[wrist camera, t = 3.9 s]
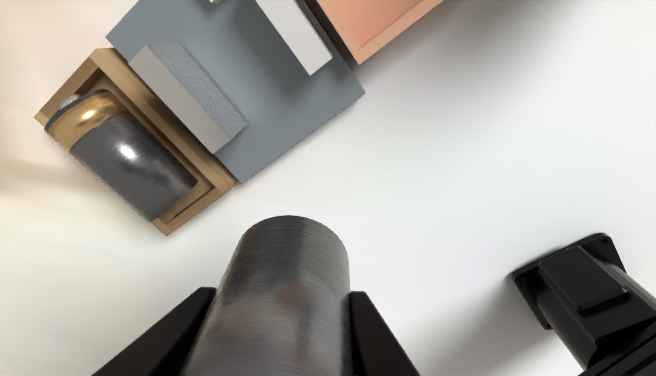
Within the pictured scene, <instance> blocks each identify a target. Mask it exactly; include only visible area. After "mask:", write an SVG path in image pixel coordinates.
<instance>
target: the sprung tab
mask: <svg viewBox="0 0 656 376" xmlns="http://www.w3.org/2000/svg"><path fill="white" fill-rule="evenodd" d="M128 64H129V65H130V66H131V68H132V69H133V70H134V71H135V72H136V73H137V74H138V75H139V76H140V77H141V78H142V79H143V80H144V81H145V83H146V84H147V85H148V86H149V87H150V88H151V89H152V90H153V91H154V92H155V93H156V94H157V95H158V96H159V98H160V99H161V100H162V101H163V102H164V103H165V104H166V105H167V106H168V107H169V108H170V109H171V110H172V111H173V113H174V114H175V115H176V116H177V117H178V118H179V119H180V120H181V121H182V122H183V123H184V124H185V125H186V126H187V128H188V129H189V130H190V131H191V132H192V133H193V134H194V135H195V136H196V137H197V138H198V139H199V140H200V141H201V143H202V144H203V145H204V146H205V147H206V148H207V149H208V150H209V151H210V152H211V153H212V154H214V153H215V152H216V151H217V150H219V149H220V148H221V147H222V146H224V145H225V144H226V143H227V142H229V141H230V140H231V139H232V138H233V137H234V136H235V135H236V134H237V133H238V132H240V131H241V130H242V129H243V128H244V127H245V126H246V125H247V122H246V121H245V120H244V119H243V118H242V117H241V115H240V114H239V113H238V112H237V111H236V109H235V108H234V107H233V106H232V105H231V104H230V102H229V101H228V100H227V99H226V98H225V97H224V95H223V94H222V93H221V92H220V91H219V89H218V88H217V87H216V86H215V85H214V84H213V82H212V81H211V80H210V79H209V78H208V77H207V75H206V74H205V73H204V72H203V71H202V69H201V68H200V67H199V66H198V65H197V64H196V62H195V61H194V60H193V59H192V58H191V57H190V55H189V54H188V53H187V52H186V51H185V50H184V48H183V47H182V46H181V45H180V44H179V43H177V44H153V45H145V46H144V47H143V48H142V49H141V50H140V51H139V52H138V53H137V54H136V55H135V56H134V57H133V58H132V59H131V61H130V62H129V63H128Z"/></svg>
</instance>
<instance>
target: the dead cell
mask: <svg viewBox="0 0 656 376" xmlns="http://www.w3.org/2000/svg"><path fill="white" fill-rule="evenodd" d="M178 376H356V371H355V356H354V347H353V337H352V322H351V306H350V277H349V261H348V255H347V251H346V249H345V247H344V245H343V243H342V241H341V240H340V239H339V237H338V236H337V235H336V234H335V233H334V232H333V231H332V230H330V229H329V228H328V227H326V226H325V225H323V224H321V223H319V222H317V221H315V220H312V219H309V218H306V217H300V216H291V215H286V216H276V217H272V218H268V219H265V220H263V221H260V222H258V223H257V224H255V225H253V226H252V227H251V228H249V229H248V230H247V231H246V232H245V233H244V234H243V236H242V237H241V239H240V240H239V243H238V245H237V247H236V249H235V251H234V253H233V256H232V258H231V260H230V262H229V264H228V267H227V269H226V271H225V273H224V275H223V278H222V280H221V282H220V284H219V286H218V289H217V291H216V293H215V295H214V297H213V300H212V302H211V304H210V306H209V308H208V310H207V313H206V315H205V317H204V319H203V321H202V324H201V326H200V328H199V330H198V332H197V335H196V337H195V339H194V341H193V343H192V346H191V348H190V350H189V352H188V354H187V357H186V359H185V361H184V363H183V365H182V368H181V370H180V372H179V374H178Z"/></svg>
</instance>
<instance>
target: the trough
mask: <svg viewBox="0 0 656 376" xmlns="http://www.w3.org/2000/svg"><path fill="white" fill-rule="evenodd" d="M128 63H129V62H128V61H127V60H126V59H125V58H124V57H123V56H122V55H121V54H120V53H119V51H118V50H117V49H116V48H102V49H95V50H94V51H93V53H92V54H91V55H90V56H89V57H88V58H87V59H86V60H85V61H84V62H83V64H82V65H81V66H80V67H79V68H78V69H77V70H76V71H75V72H74V73H73V75H72V76H71V77H70V78H69V79H68V80H67V81H66V82H65V83H64V84H63V86H62V87H61V88H60V89H59V90H58V91H57V92H56V93H55V94H54V95H53V96H52V98H51V99H50V100H49V101H48V102H47V103H46V104H45V105H44V106H43V107H42V109H41V110H40V111H39V112H38V113H37V114H36V115H35V116H34V118H35V119H36V120H37V121H38V122H39V123H40V124H42V125H43V126H44V127H45V125H46V124H47V122H48V121H49V120H50V119H51V118H52V117H53V116H54V115H55V114H56V113H57V112H58V111H60V109H58V105H59V104H60V103H61V102H62V101H63V100H64V99H66V98H67V97H69V96H71V95H74V94H80V95H81V96H83V95H86V94H88V93H90V92H93V91H96V90H99V89H108V90H109V91H110V92H112V93H113V94H114V95H115V96H116V97H117V98H118V99H119V100H120V101H121V102H122V103H123V104H124V105H125V106H126V107H127V108H128V110H129V111H130V112H131V113H132V114H133V115H134V116H135V117H136V118H137V119H138V120H139V121H140V122H141V123H142V124H143V125H144V126H145V127H146V128H147V129H148V130H149V131H150V132H151V133H152V134H153V135H154V136H155V137H156V138H157V139H158V140H159V141H160V142H161V143H162V144H163V145H164V146H165V147H166V148H167V149H168V150H169V151H170V152H171V153H172V154H173V155H174V156H175V157H176V158H177V159H178V160H179V161H180V162H181V163H182V164H183V165H184V166H185V167H186V168H187V170H188V171H189V172H190V173H191V174H192V175H193V176H194V177H195V178H196V179H197V180H198V183H197V184H196V185H195V186H194V187H193V188H192V189H191V190H190V191H189V192H188V193H186V194H185V195H184V196H183V197H182V198H181V199H180V200H179V201H177V202H176V203H175V204H174V205H173V206H172V207H170V208H169V209H168V210H167V211H166V212H164V213H163V214H162V215H161V216H159V217H158V218H157V219H155V220H154V221H152V222H151V223H152V224H154V225H155V226H156V227H157V228H158V229H159V230H160V231H161V232H163V233H164V234H165V235H166V236H168V235H169V234H170V233H172V232H173V231H174V230H176V229H177V228H178V227H180V226H181V225H183V224H184V223H185V222H187V221H188V220H189V219H191V218H192V217H193V216H195V215H196V214H198V213H199V212H200V211H202V210H203V209H204V208H206V207H207V206H208V205H210V204H211V203H213V202H214V201H215V200H217V199H218V198H219V197H221V196H222V195H223V194H225V193H226V192H227V191H229V190H230V189H231V188H232V186H233V185H234V184H235V182H236V181H237V178H236V177H235V176H234V175H233V174H232V173H231V172H230V171H229V170H228V169H227V167H226V166H225V165H224V164H223V163H222V162H221V161H220V160H219V159H218V158H217V157H216V156H215V155H214V154H212V153H211V152H210V151H209V150H208V149H207V148H206V147H205V146H204V145H203V144H202V143H201V141H200V140H199V139H198V138H197V137H196V136H195V135H194V134H193V133H192V132H191V131H190V130H189V129H188V128H187V126H186V125H185V124H184V123H183V122H182V121H181V120H180V119H179V118H178V117H177V116H176V115H175V114H174V113H173V111H172V110H171V109H170V108H169V107H168V106H167V105H166V104H165V103H164V102H163V101H162V100H161V99H160V98H159V96H158V95H157V94H156V93H155V92H154V91H153V90H152V89H151V88H150V87H149V86H148V85H147V84H146V83H145V81H144V80H143V79H142V78H141V77H140V76H139V75H138V74H137V73H136V72H135V71H134V70H133V69H132V68H131V66H130V65H129V64H128Z"/></svg>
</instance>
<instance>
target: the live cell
mask: <svg viewBox="0 0 656 376" xmlns="http://www.w3.org/2000/svg"><path fill="white" fill-rule="evenodd" d="M58 109H60V111H58V112H57V113H56V114H55V115H54V116H53V117H52V118H51V119H50V120H49V121H48V122H47V124H46V125H45V128H44V130H45V132H46V133H48V135H49V136H50V137H51V138H53V139H54V140H55V141H56V142H57V143H58V144H59V145H61V146H62V147H63V148H64V149H65V150H66V151H67V152H68V153H70V154H71V155H72V156H74V157H75V158H76V159H77V160H78V161H79V162H80V163H82V164H83V165H84V166H85V167H86V168H87V169H88V170H89V171H91V172H92V173H93V174H94V175H95V176H96V177H97V178H98V179H100V180H101V181H102V182H103V183H104V184H105V185H106V186H108V187H109V188H110V189H111V190H112V191H113V192H114V193H115V194H117V195H118V196H119V197H120V198H121V199H122V200H123V201H125V202H126V203H127V204H128V205H129V206H130V207H131V208H132V209H134V210H135V211H136V212H137V213H138V214H139V215H140V216H141V217H143V218H144V219H145V220H146V221H147V222H148V223H151V222H152V221H154V220H155V219H157V218H158V217H159V216H161V215H162V214H163V213H164V212H166V211H167V210H168V209H169V208H170V207H172V206H173V205H174V204H175V203H176V202H177V201H179V200H180V199H181V198H182V197H183V196H184V195H185V194H186V193H188V192H189V191H190V190H191V189H192V188H193V187H194V186H195V185H196V184H197V183H198V180H197V179H196V178H195V177H194V176H193V175H192V174H191V173H190V172H189V171H188V170H187V168H186V167H185V166H184V165H183V164H182V163H181V162H180V161H179V160H178V159H177V158H176V157H175V156H174V155H173V154H172V153H171V152H170V151H169V150H168V149H167V148H166V147H165V146H164V145H163V144H162V143H161V142H160V141H159V140H158V139H157V138H156V137H155V136H154V135H153V134H152V133H151V132H150V131H149V130H148V129H147V128H146V127H145V126H144V125H143V124H142V123H141V122H140V121H139V120H138V119H137V118H136V117H135V116H134V115H133V114H132V113H131V112H130V111H129V110H128V108H127V107H126V106H125V105H124V104H123V103H122V102H121V101H120V100H119V99H118V98H117V97H116V96H115V95H114V94H113V93H112V92H110V91H109V90H108V89H99V90H96V91H93V92H90V93H88V94H86V95H83V96H81V95H80V94H74V95H71V96H69V97H67V98H66V99H64V100H63V101H62V102H61V103H60V104H59V105H58Z"/></svg>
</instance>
